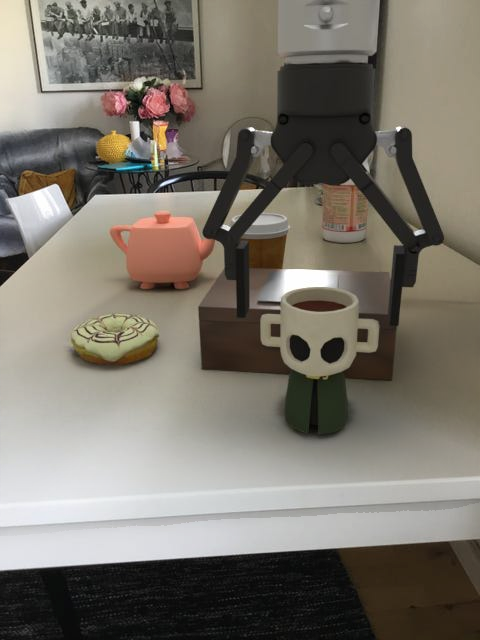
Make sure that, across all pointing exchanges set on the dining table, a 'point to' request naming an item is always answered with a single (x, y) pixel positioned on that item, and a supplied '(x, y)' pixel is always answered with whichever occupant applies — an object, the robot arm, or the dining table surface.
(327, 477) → the dining table surface
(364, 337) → the wooden jewelry box
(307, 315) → the character mug
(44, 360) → the dining table surface
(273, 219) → the disposable coffee cup
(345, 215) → the fruit juice
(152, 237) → the teapot
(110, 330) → the decorated donut
